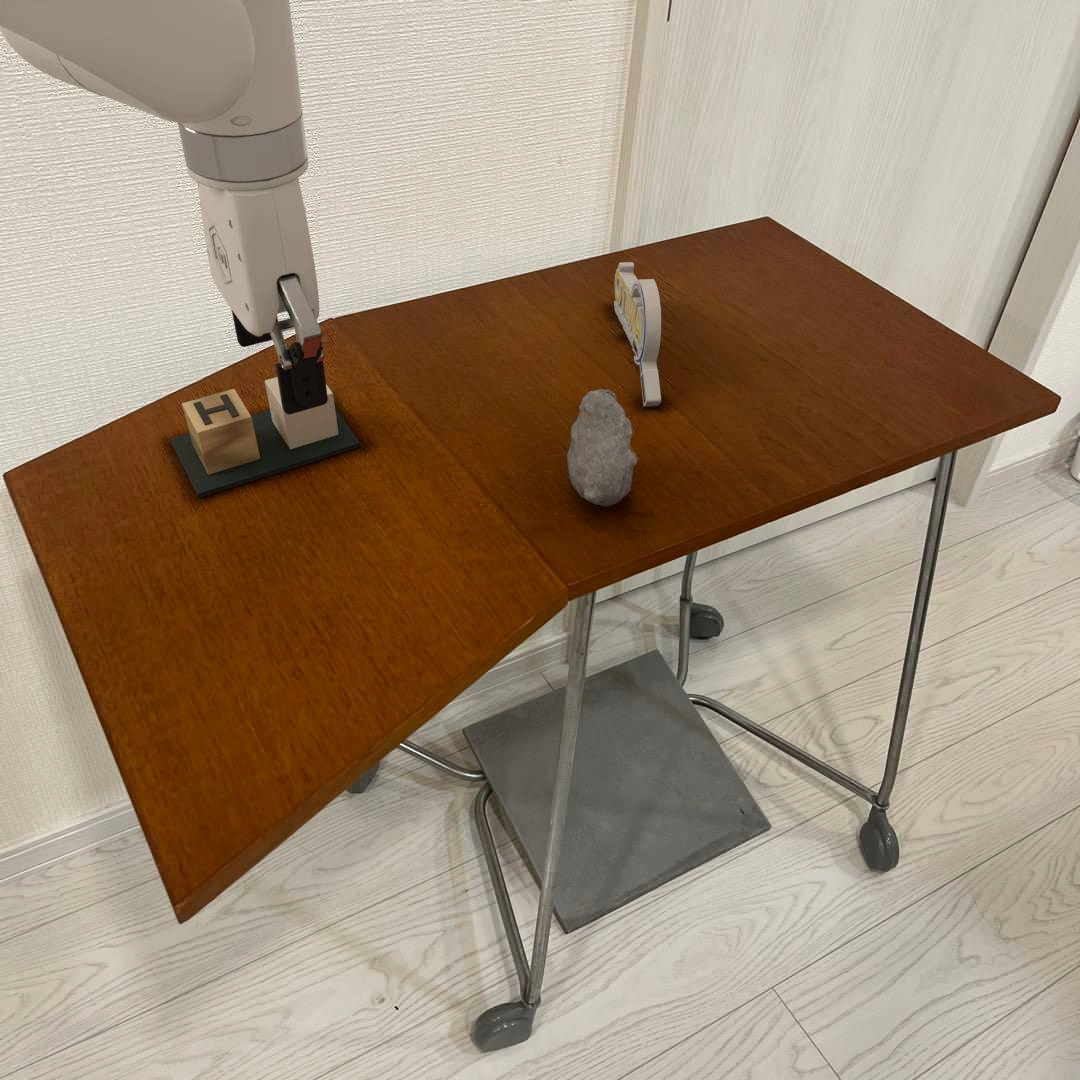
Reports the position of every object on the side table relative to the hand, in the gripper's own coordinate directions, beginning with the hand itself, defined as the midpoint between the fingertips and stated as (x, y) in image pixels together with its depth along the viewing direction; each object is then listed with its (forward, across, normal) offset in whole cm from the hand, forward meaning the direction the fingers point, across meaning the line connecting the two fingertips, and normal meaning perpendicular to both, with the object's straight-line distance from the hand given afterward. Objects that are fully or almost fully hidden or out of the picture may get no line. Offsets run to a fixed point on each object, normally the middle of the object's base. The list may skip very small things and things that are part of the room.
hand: (281, 373), depth 75 cm
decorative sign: (+11, -3, +35) cm, 37 cm away
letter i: (+11, -7, +3) cm, 13 cm away
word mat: (+11, -7, 0) cm, 13 cm away
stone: (+11, +13, +21) cm, 27 cm away
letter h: (+11, -7, -4) cm, 13 cm away
